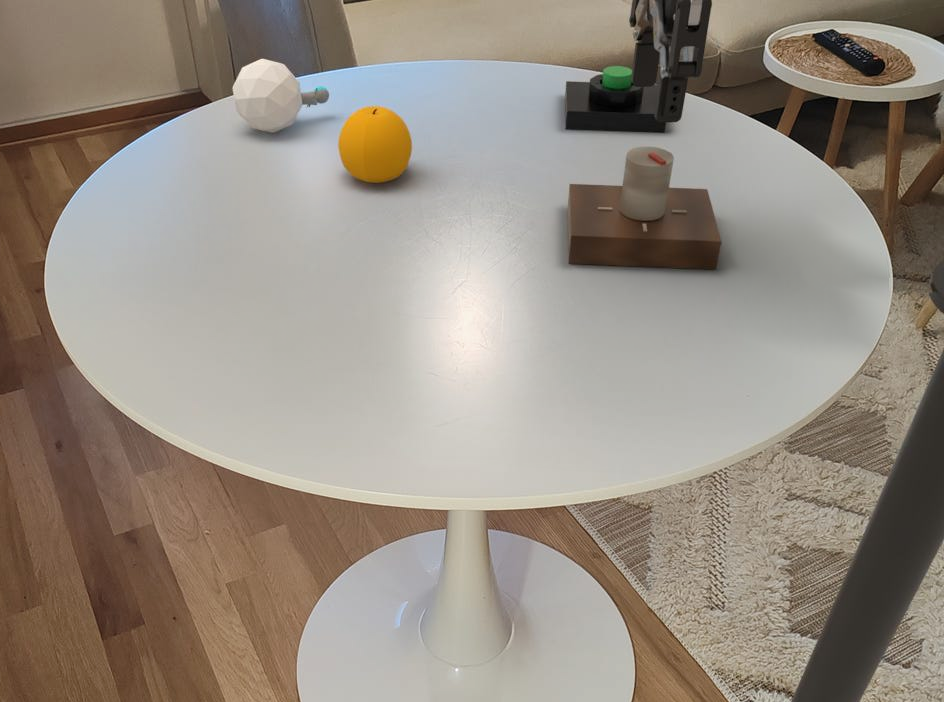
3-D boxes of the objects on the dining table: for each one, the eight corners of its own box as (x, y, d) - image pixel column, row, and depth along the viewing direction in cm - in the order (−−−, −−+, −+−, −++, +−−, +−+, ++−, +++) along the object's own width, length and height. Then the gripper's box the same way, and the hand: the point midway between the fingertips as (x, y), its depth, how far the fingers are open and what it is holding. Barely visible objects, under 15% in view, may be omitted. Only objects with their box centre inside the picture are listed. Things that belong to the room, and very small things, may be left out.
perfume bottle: (215, 91, 111) (304, 83, 117) (241, 150, 110) (329, 139, 116) (229, 45, 104) (323, 40, 110) (256, 107, 103) (349, 99, 109)
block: (657, 101, 119) (662, 69, 116) (664, 132, 112) (669, 99, 109) (564, 98, 120) (567, 66, 117) (565, 129, 112) (568, 95, 110)
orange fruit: (369, 155, 106) (365, 89, 101) (426, 171, 103) (425, 103, 98) (326, 181, 101) (319, 112, 96) (385, 198, 98) (381, 128, 93)
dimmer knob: (610, 205, 91) (617, 148, 87) (648, 196, 92) (656, 140, 88) (635, 224, 88) (644, 166, 84) (673, 215, 89) (683, 157, 85)
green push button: (630, 80, 114) (632, 66, 113) (632, 91, 112) (634, 76, 111) (601, 79, 115) (602, 65, 113) (602, 90, 112) (603, 75, 111)
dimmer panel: (702, 216, 96) (707, 187, 94) (715, 269, 88) (722, 239, 86) (567, 210, 96) (569, 182, 94) (568, 263, 88) (571, 233, 86)
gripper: (763, -88, 67) (719, 133, 78) (705, -127, 77) (673, 73, 88) (662, -87, 66) (632, 136, 77) (617, -126, 77) (596, 75, 88)
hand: (654, 102), depth 83 cm, fingers open, 8 cm apart
